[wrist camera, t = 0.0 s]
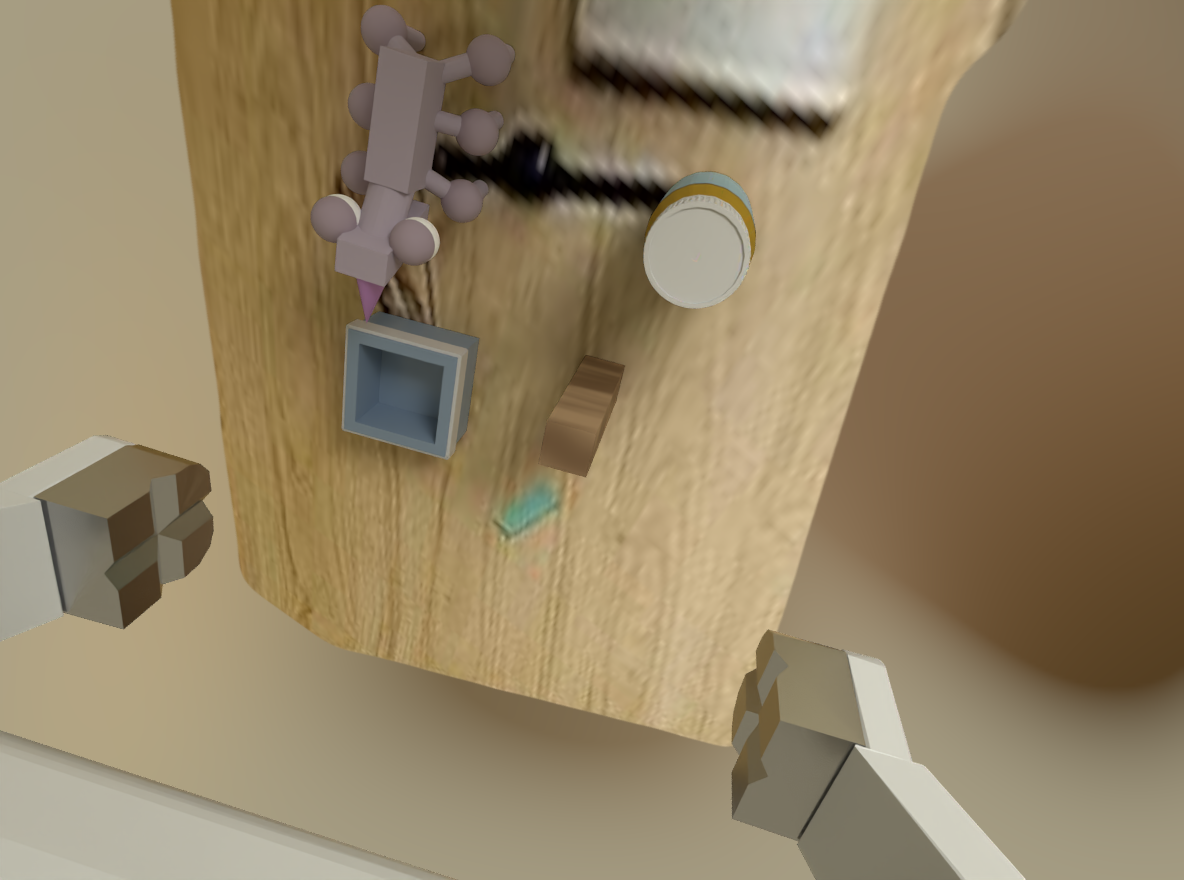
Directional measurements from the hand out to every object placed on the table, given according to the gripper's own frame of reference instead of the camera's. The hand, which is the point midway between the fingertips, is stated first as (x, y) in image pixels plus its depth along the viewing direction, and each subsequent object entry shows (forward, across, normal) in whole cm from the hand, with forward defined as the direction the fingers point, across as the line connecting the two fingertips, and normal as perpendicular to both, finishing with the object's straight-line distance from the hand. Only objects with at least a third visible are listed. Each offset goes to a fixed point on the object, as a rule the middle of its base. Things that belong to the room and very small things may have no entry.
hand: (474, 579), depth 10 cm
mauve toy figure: (+48, +19, +2) cm, 52 cm away
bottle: (+48, -2, +1) cm, 48 cm away
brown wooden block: (+48, +3, +16) cm, 51 cm away
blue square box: (+48, +19, +20) cm, 55 cm away
